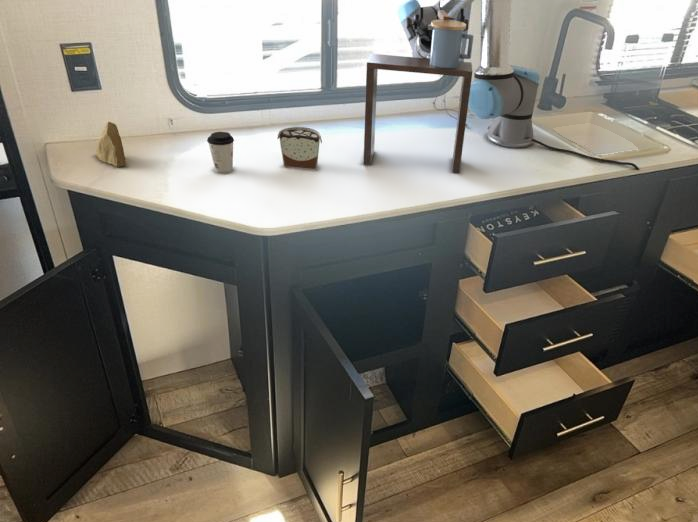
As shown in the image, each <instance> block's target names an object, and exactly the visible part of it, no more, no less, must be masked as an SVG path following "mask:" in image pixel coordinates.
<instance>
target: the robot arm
mask: <svg viewBox="0 0 698 522" xmlns="http://www.w3.org/2000/svg"><path fill="white" fill-rule="evenodd" d="M474 1H475V0H438V1H437V2H436V3H435V4H434V5H429V6H421V4H420V3H419V1H418V0H406V1H404V2H403V3H401V5H399V6H398V8H397V10H396V12H397V15H398V18H399V19H398V20H399V23H400V24H401V27H402V29H403V31H404V33H405V36H406V38H407V40H408V43H409V46H410V48H411V51H412V52H411V54H412V56H411V57H415V58H426V59H430V54H431V43H432V32H433V30H428V25H431V21H433V20H440V19H439V17H438V10H444V11H445V12H446V13H447V15H448V16H449V20H454V21H459V22H463V23H465V24H466V29H463V33H465V32H466V31H468V30H469V19H466V16H465V15H464V13H465V12H464V11H465V10H466V9H467V8H468V7H469V6H470V5H471V4H472V3H474ZM512 7H513V0H480V37H479V38H480V39H479V40H480V41H479V65H478V67H476V69H474V72H473V73H474V75H473V80H474V81H471V87H470V95H469V102H468V108H469V110H470V111H471V112H472V114H473V115H474V116H475V117H477V118H479V119H481V120H491V119H492V122H491V124H490V125H489V126H488V127H487V128H486V129H487V133H486V134H487V135H486V139H487V140H488V141H489V142H490V143H492V144H495V145H497V146H500V147H505V148H511V149H512V148H513V149H521V148H528V147H530V146H532V145H533V143H535V144H538V145H540V146H542V147H544V148H546V149H548V150H549V149H550V150H553V151H557V152H563V153H568V154H572V155H575V156H579V157H582V158H585V159H589V160H592V161H597V162H602V163H608V164H615V165H620V166H631V167H633V168H634V169H635V170H636V171H640V168H639V167H638V165H636V164H635V163H633V162H627V161H618V160H611V159H605V158H599V157H594V156H590V155H587V154H584V153H581V152H577V151H575V150H570V149H565V148H559V147H554V146H552V145H548V144H545V143H544V142H542V141H539V140H537V139H535V138H534V136H535V135H534V127H533V120H532V119H533V113H534V108H535V104H536V99H537V94H538V88H539V86H540V73H539V71H537V70H535V69H532V68H529V67H524V66H519V65H511V64H510V50H511V49H510V48H511V30H512V29H511V28H512V9H513V8H512Z"/></svg>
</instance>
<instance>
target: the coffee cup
mask: <svg viewBox="0 0 698 522" xmlns="http://www.w3.org/2000/svg"><path fill="white" fill-rule="evenodd" d="M206 141H207V143H208V146H209V150H210V154H211V158H212V162H213V167H214V172H216V173H217V174H221V175H224V174H230V173H231V172H233V169H234V167H233V165H234V142H235V139H234V137H233V136H232V135H231V133H230V132H227V131H215V132H212V133H210V135H209V136H208V137H207V139H206Z"/></svg>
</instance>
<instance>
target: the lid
mask: <svg viewBox="0 0 698 522" xmlns="http://www.w3.org/2000/svg"><path fill="white" fill-rule="evenodd" d="M438 17H439V19H440V20H433V21H431V26H433V27H435V28H439V29H445V30H463V29H466V24H465V23H463V22H459V21H454V20H449V16H448V15H447V13H446V12H445V11H444V10H438Z"/></svg>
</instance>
